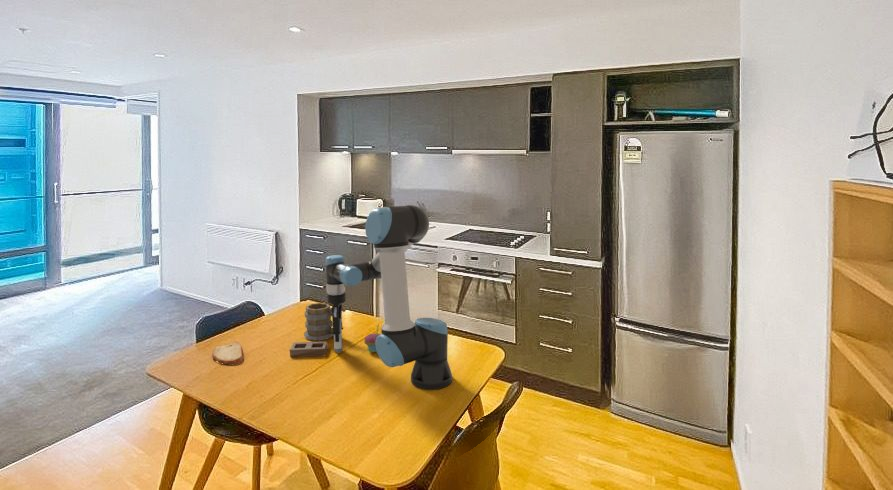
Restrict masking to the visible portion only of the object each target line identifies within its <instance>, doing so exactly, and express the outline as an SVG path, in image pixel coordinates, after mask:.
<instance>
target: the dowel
mask: <svg viewBox="0 0 893 490" xmlns="http://www.w3.org/2000/svg"><path fill="white" fill-rule="evenodd" d="M342 330H343V329H342V328H341V319H340V333H341V349H334V353H336V354H337V353H338V354H339V353H340V354H341V353H342V352H343V339H342V338H343V334H342V333H343V331H342Z"/></svg>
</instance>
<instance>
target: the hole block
mask: <svg viewBox="0 0 893 490" xmlns="http://www.w3.org/2000/svg"><path fill="white" fill-rule="evenodd" d="M328 348H329V347H328V341H301V342H293V343H292V345H291V347H290V349H289V357H291V358H298V357H319V356H320V357H321V356H323V357H324V356H325V357H326V355H327V354H326V353H327V351H328Z"/></svg>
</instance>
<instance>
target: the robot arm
mask: <svg viewBox="0 0 893 490" xmlns="http://www.w3.org/2000/svg"><path fill="white" fill-rule="evenodd" d="M365 221H366V222H365V226H364V227H365V229H364V231H365V235H366V238H367V241H369V243H370V244H373V248H374V250H375V251H376V252H377V253H376V255H374V256H373V258H372V259H371V260H369V261H362V262H356V263H352V264H351V263H350V264H348V263H346V261H345V257H344V256H343V255H339V254H334V255H329V256H326V257H325V265H324V267H325V279H326V283H325V284H326V285H325V287H326V293H327V294H326V300H327V301H326V302H327V304H329V305H331V307H330V308H331V311H332V316H331V321H332V324H333V326H332V328H333V333H332V334H334V335H333V344H334V345H333V348H334V350H335V349H341V333H340V319H341V328H342V330H344V327H343V319H342V318H343V316H342V314H343V311H342V306H343V304H344V303H346V300H347V299H346V298H347V297H346V295H347V294H346V288H347V286H350V287H354V286H357V285H359V284H360V283H361V282H366V281H371V280H378V279H380V280H381V290H382V303H383V314H384V323H383V324H382V325H381V327H380V329H381V330H380V331H381V332H380V333H379V334H380V335H379V336H378V337H377V338H376V341H375V345H376V350H377V352H376V353H377V355H378V357H379V359H380V361H381V362H382V363H383V364H384V365H385V366H386V367H389V368H396V367H401V366H404V365H406V364H409V363H412V362H414V365H413V366H412V367H413V368H412V371H411V373H410V383H411V384H412V386H414V387H416V388H418V389H421V390H429V391H430V390H431V391H432V390H441V389H444V388H447V387H448V386H450V385H451V384H452V382H453V373H452V370H451V367H450V364H449V360H448V340H449V339H448V336H449V332H448V324H447V323H446V321H444V320H442V319H439V318H435V317H418V318H417V319H415V321H413V320H411V313H410V303H409V302H410V301H409V291H408V290H409V289H408V279H407V276H408V275H407V266H406V263H407V262H406V254H405V253H406V252H407V251H408V250H409V249H410V248H411V247H412V246H413V245H414V244H418V243H420V242H421V241H422V240H423V239H424V237H425V236H426V235H427V233H428V231H429V228H430V220H429V217H428V214H427V213H426V212H425V211H424V210H423V208H421V207H419V206H418V205H414V204H413V205H412V204H411V205H410V204H407V205H399V206H397V205H395V206H394V205H393V206H382V207H377V208H374V209H372V210H371V211H370V212H369V214H368V215H367V218H366V220H365Z"/></svg>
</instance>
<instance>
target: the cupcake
mask: <svg viewBox="0 0 893 490" xmlns="http://www.w3.org/2000/svg"><path fill="white" fill-rule="evenodd" d="M380 334H381V333H379V322H378V323H377V325H376V332H375V333H373V332H372V333H369V334H367V335H366V336H365V337H364V340H363V341H364V344H365V345H366V346H367V348H368V351H369V352H372V353H377V350H376V345H375V341H376V338H377V337H378V336H379V335H380Z"/></svg>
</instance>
